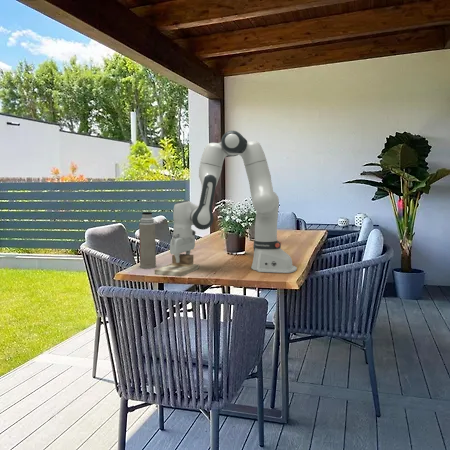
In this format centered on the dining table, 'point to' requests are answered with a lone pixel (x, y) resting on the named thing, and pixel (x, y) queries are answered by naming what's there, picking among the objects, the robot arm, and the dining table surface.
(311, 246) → the dining table surface
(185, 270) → the board
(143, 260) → the thermos bottle
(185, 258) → the block
